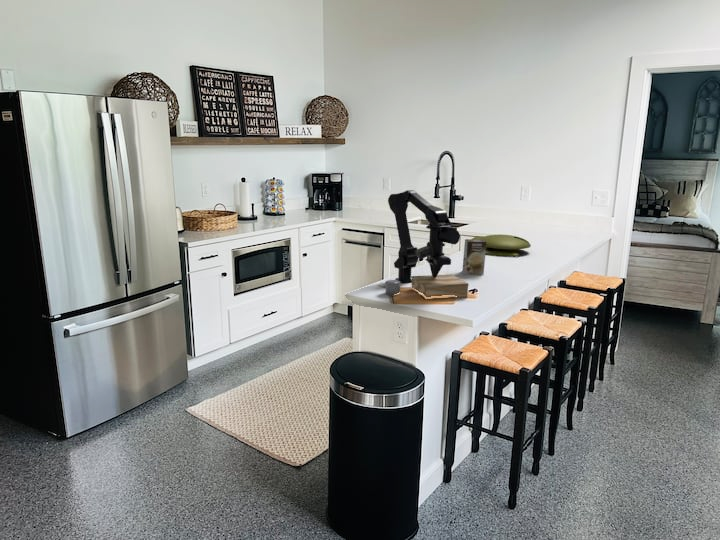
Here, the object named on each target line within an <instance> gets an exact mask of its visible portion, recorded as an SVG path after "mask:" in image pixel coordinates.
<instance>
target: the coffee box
mask: <svg viewBox="0 0 720 540" xmlns="http://www.w3.org/2000/svg"><path fill="white" fill-rule="evenodd" d="M486 250H487V249H486V241H484V240H473V239H472V238H471V239H468V238H467V239H466V238H465V239H464V249H463V259H462V273H463V274H465V275H475V276H476V275H477V276H478V275H480V276H481V275H484V274H485V262H486V255H485V253H486Z"/></svg>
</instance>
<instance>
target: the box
mask: <svg viewBox="0 0 720 540" xmlns="http://www.w3.org/2000/svg"><path fill="white" fill-rule="evenodd" d="M411 279H412V282H411V287H412V288H414V289H416V290H418V291H419V292H421V293H423V294H424V295H425V296H426V297H431V296H442V295H455V296H457V298H456V299H460V298H468V291H469V285H461V286H442V287H425V286H423V285H422V284H420V283H419V282H417V281H416V280H414V279H413V278H411Z"/></svg>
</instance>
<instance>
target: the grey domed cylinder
mask: <svg viewBox="0 0 720 540" xmlns="http://www.w3.org/2000/svg"><path fill="white" fill-rule="evenodd" d="M399 292H400V293H401V282H400V281H398V280H396V279H389V280H386V281H385V295H387V296H390V297H392V295H394V294H397V293H399Z"/></svg>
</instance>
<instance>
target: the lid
mask: <svg viewBox="0 0 720 540" xmlns="http://www.w3.org/2000/svg"><path fill="white" fill-rule="evenodd" d="M412 278H413V279H414V280H416V281H417V282H419V283H420V284H422V285H423V286H425V287H442V286H461V285H468V286H469V282H466V281H464V280H462V279H461V278H459V277H457V276H455V275H454V274H452V273H451V274H450V273H449V274H438V275H437V277H433V276H432V274H431V275H411V279H412Z"/></svg>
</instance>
